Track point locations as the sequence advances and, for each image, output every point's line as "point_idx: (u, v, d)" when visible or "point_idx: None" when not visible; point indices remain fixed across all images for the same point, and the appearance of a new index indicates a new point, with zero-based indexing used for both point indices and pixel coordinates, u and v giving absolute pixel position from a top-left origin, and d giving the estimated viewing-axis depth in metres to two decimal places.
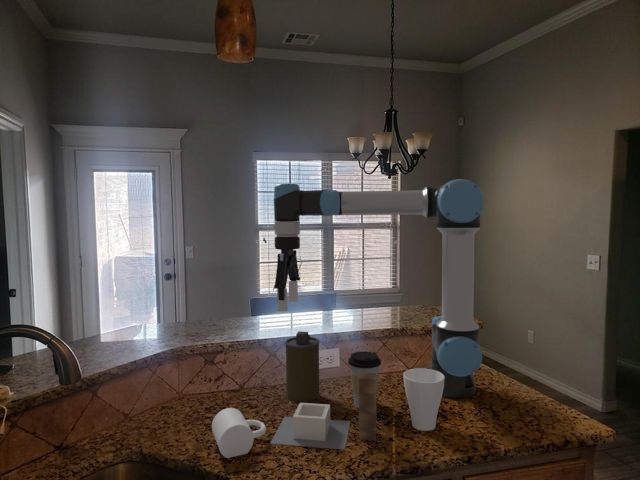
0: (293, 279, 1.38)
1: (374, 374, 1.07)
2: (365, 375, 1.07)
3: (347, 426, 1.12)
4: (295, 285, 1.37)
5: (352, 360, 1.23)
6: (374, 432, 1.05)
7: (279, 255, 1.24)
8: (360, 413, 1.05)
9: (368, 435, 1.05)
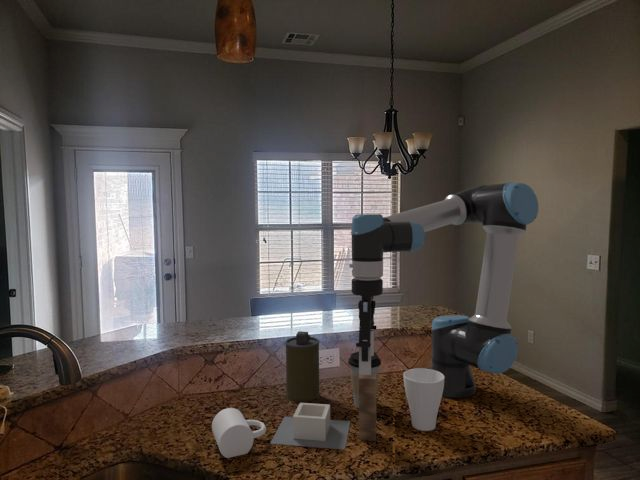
0: None
1: (374, 374, 1.07)
2: (365, 375, 1.07)
3: (347, 426, 1.12)
4: (371, 336, 1.12)
5: (352, 360, 1.23)
6: (374, 432, 1.05)
7: (362, 305, 0.99)
8: (360, 413, 1.05)
9: (368, 435, 1.05)
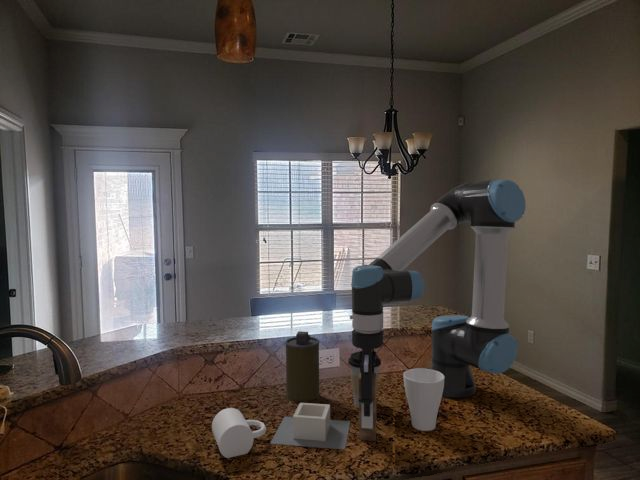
0: None
1: (374, 374, 1.07)
2: None
3: (347, 426, 1.12)
4: None
5: (352, 360, 1.23)
6: (374, 432, 1.05)
7: (363, 367, 1.00)
8: (360, 413, 1.05)
9: (368, 435, 1.05)
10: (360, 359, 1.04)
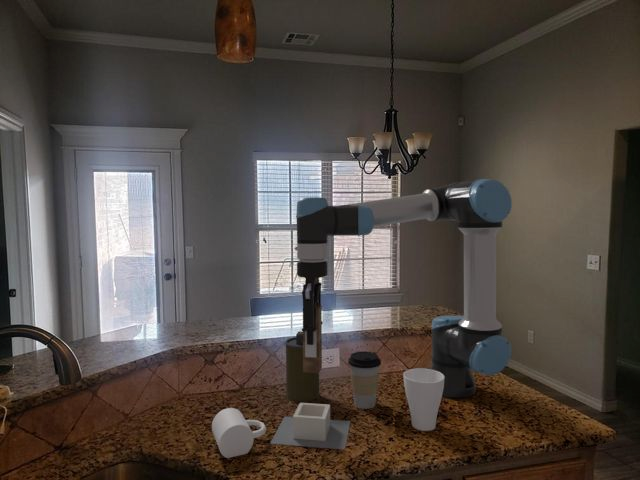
0: None
1: (319, 305, 1.08)
2: None
3: (347, 426, 1.12)
4: None
5: (352, 360, 1.23)
6: (317, 361, 1.06)
7: (304, 293, 1.01)
8: (304, 343, 1.06)
9: (311, 364, 1.06)
10: (304, 289, 1.06)
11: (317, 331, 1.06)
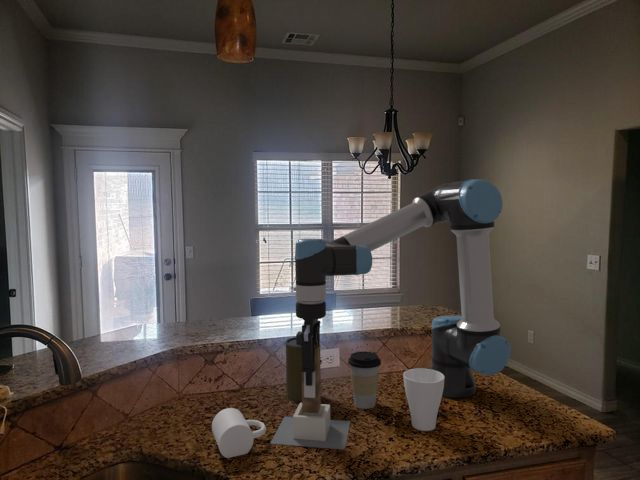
0: None
1: (318, 345, 1.09)
2: None
3: (347, 426, 1.12)
4: None
5: (352, 360, 1.23)
6: (316, 401, 1.07)
7: (303, 336, 1.02)
8: (303, 383, 1.07)
9: (310, 404, 1.07)
10: (303, 330, 1.06)
11: (316, 372, 1.07)
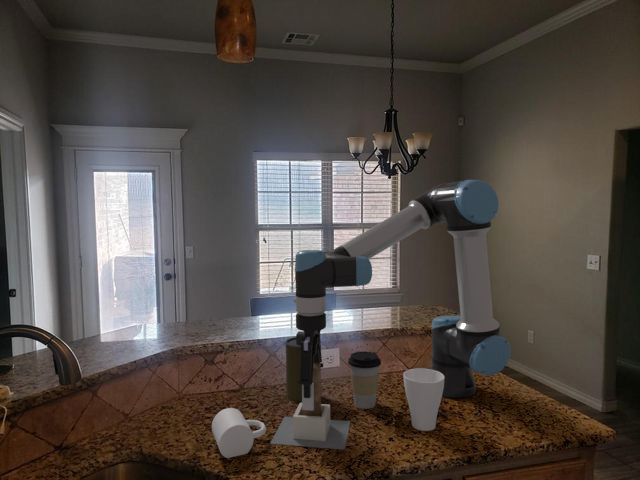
0: None
1: (318, 364, 1.09)
2: None
3: (347, 426, 1.12)
4: None
5: (352, 360, 1.23)
6: None
7: (303, 344, 1.02)
8: None
9: None
10: (303, 340, 1.07)
11: (316, 390, 1.07)
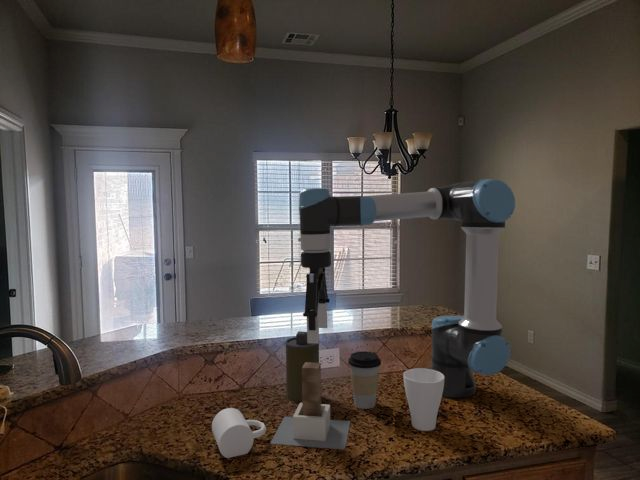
0: (322, 301, 1.16)
1: (318, 364, 1.09)
2: (309, 365, 1.09)
3: (347, 426, 1.12)
4: (324, 308, 1.15)
5: (352, 360, 1.23)
6: None
7: (308, 276, 1.02)
8: (303, 402, 1.08)
9: None
10: None
11: (316, 390, 1.07)
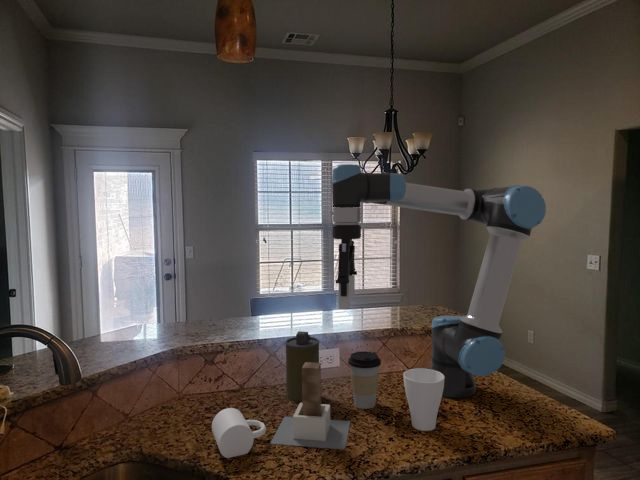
0: (349, 273, 1.23)
1: (318, 364, 1.09)
2: (309, 365, 1.09)
3: (347, 426, 1.12)
4: (352, 280, 1.22)
5: (352, 360, 1.23)
6: None
7: (341, 245, 1.09)
8: (303, 402, 1.08)
9: None
10: None
11: (316, 390, 1.07)
